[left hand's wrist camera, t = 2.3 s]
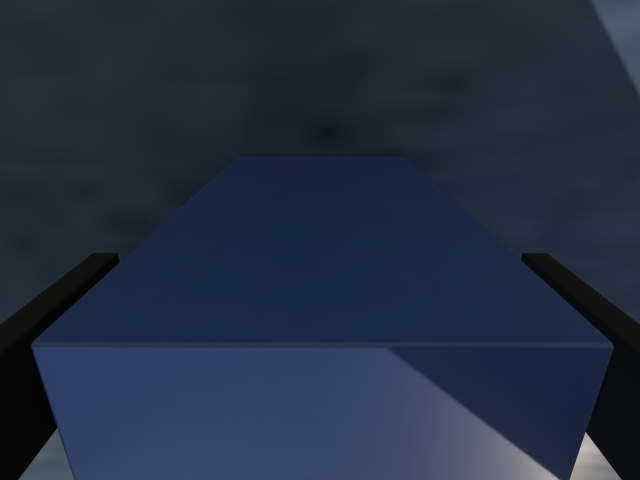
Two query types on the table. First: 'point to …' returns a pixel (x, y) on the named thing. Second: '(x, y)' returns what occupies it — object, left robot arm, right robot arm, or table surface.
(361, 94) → the table surface
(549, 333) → the box
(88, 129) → the table surface
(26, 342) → the left robot arm
